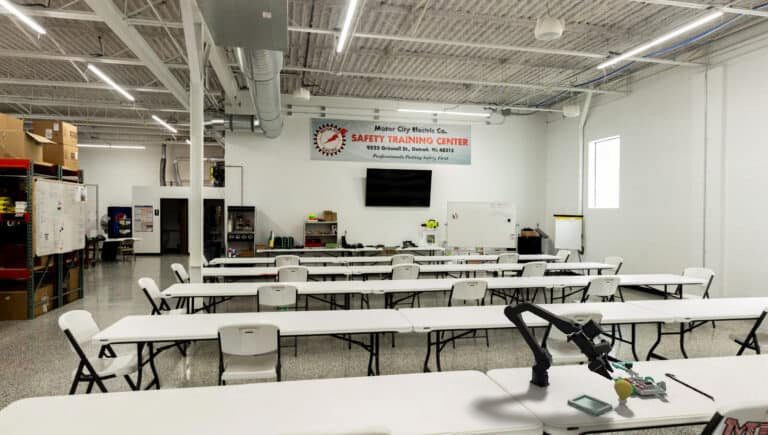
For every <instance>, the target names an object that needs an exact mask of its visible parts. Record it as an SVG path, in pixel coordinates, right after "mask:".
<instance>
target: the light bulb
mask: <svg viewBox="0 0 768 435" xmlns="http://www.w3.org/2000/svg"><path fill="white" fill-rule="evenodd" d="M613 388H614V390H615V393H616V395H617V396H618V397H617V400H618V403H619V405H621V406H626V404H627V403H628V398H630V396H631V393H632V391H633V389H632V386H631V384H630V383H629V382H627V381H625V380H618V381H616V382H615V381H614V385H613Z"/></svg>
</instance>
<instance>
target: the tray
mask: <svg viewBox="0 0 768 435" xmlns="http://www.w3.org/2000/svg"><path fill="white" fill-rule="evenodd" d="M567 404H568V405H570V406H573V407H575V408H576V409H579V410H581V411H583V412H586V413H587V414H590V415H592V416H593V417H594V416H595V417H597V416H599V415H602V414H603V413H606V412H608V411H610V410H613V404H610V403H608V402H607V401H604V400H601V399H599V398H598V397H597V398H596V397H594V396H592V395H590V394H587V393H584V392H583V393H581V394H578V395H576V396H574V397H571V398H568V399H567Z"/></svg>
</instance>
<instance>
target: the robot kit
mask: <svg viewBox="0 0 768 435" xmlns="http://www.w3.org/2000/svg"><path fill="white" fill-rule="evenodd" d="M633 363H634V362H632V361H625V362H624V363H623V362H621V361H617V364H615V363H614V362H611V367H612V368H615V369H616V370H617V369H618V370H622V371H625V373H626V374H628V375H629V376H630V377H625V378H622V377H621V378H620V377H619V378H617V377H616V378H615V380H614V383H615V382H616V381H618V380H625V381H627V382H629V383H630V384H631V386H632V389H633V391H632V393H631V395H635V394H636V393H638V394H639V395H640V396H645V395H657V394H660V395H661V394H665V392H667V384H666V383H667V382H665V380H661V381H659V382H655V379H654V378H653V377H652V376H645V377H644V376H640V373H639V372H636V371H634V370H633V365H634V364H633ZM631 395H630V396H631Z"/></svg>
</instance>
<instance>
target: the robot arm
mask: <svg viewBox="0 0 768 435" xmlns="http://www.w3.org/2000/svg"><path fill="white" fill-rule="evenodd" d="M526 312H529V313H531V314H533V315H535V316H537V317H538V318H541V319H543V320H544V321H546V322H548V323H550V324H552V325H553V326H554V327H555V328H556V329H557V330H559V331H560V332H561V333H563V334H564V335H566V343H567V344H568V343H570V342H571V341H572V343H574V345H575V346H576V347H577V348H578V349H579V350H580V354H581V355H582V354H583V355H584V356H585V358H587V362H588V364H587V369H588V370H589V371H590V372H592V373H595V374H597V375H599V376H602V377H603V378H605V379H607V380H609V381H612V380H613V379H614V378H613V377H612V376H611V374H613V373H615V370H614V368H613V366H612V364H611V363H610V362H609V360H608V353H610V352H612V350H613V347H612V345H611V342H610V341H609V340H607V339H605V338H602V339H600V342H598V343H595V342H594V341H591V340H594V339H595V338H597V337H598V336H600V335H601V334H603V333H604V332H605V330H604V329H603V327H602V326H601V325H600V324H599V323H598V322H596V321H595V320H594V319H593V318H590V319H589V320H588V321H587V322H585V323H584V324H582V323H579V322H575V321H574V320H573V319H571V318H569V317H565V316H561V315H558V314H555V313H553V312H551V311H549V310H548V309H545V308H543V307H541V306H540V305H538V304H535V303H534V302H532V301H531V300H528V301H525V302H520V303H516V304H515V303H510V304H508V305H506V306H505V307H504V308H503V315H504V316H505V317H506V318H507V319H508V320H509V322H510V323H512V324H513V325H515V327H516V329H517V331H519V333H520V335H521V336H522V338H523V340H524V341H525V343H526V344H527V345H528V347H529V349H530V350H531V352H532V354H533V358H534V360H535V362H534V363H533V365H532V366H531V380H529V383H530V384H533V385H535V386H538V387H540V388H543V387H547V386H550V382H549V377H550V376H549V372H548V370H550V369H551V366H552V365H553V362H554V360H553V359H554V358H553V355H552V354H551V352H550V351H549V349H548V348H545V349H544V348H543V347H542V346H541V345H540V343H539V342H538V340H537V339H536V337H535V336H534V334H533V333H532V331H531V330H530V328H529V326H528V325H527V324H526V322H525V321H524V319H523V315H522V314H523V313H526ZM590 339H591V340H590ZM609 372H610V373H609Z"/></svg>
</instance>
